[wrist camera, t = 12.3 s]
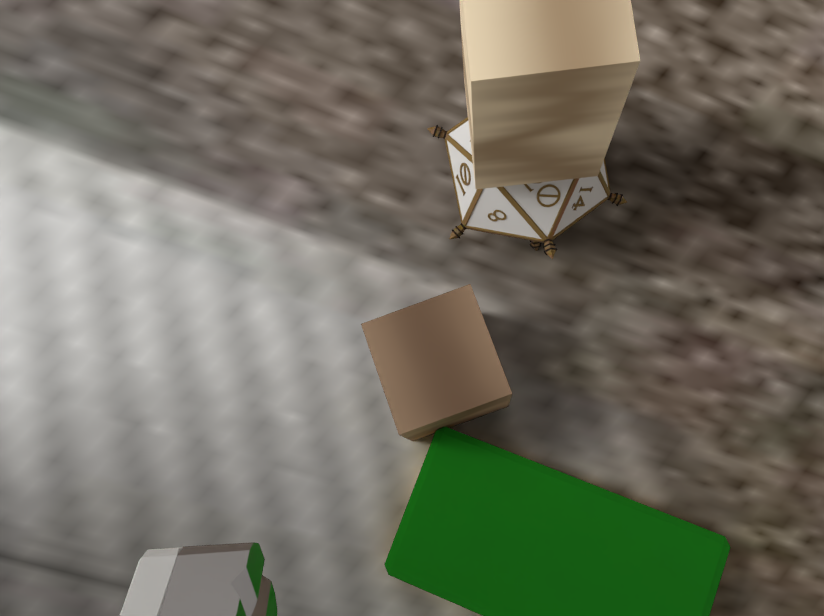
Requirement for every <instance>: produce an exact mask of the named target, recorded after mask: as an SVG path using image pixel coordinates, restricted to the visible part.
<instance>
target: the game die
mask: <svg viewBox="0 0 824 616" xmlns="http://www.w3.org/2000/svg"><path fill="white" fill-rule="evenodd" d="M427 129H428V130H429V131H430V132H431V134H432V135H433V137H434V136H436V137H438V138H444V139H445V143H446V148H447V153H448V158H449V163H450V168H451V173H452V178H453V183H454V188H455V193H456V198H457V203H458V208H459V213H460V218H461V224H460V225H459V226H456V228H455V229H452V233H451V236H450V239H454V238H460V236H461V235H462V234H463V232H464V230H465V229H471V230H476V231H482V232H487V233H493V234H498V235H504V236H509V237H515V238H520V239H526V240H530V242H531V244H530V246H531V247H532V248H534V249H535V250H536V251H537V250H538V248H539V247H540V246H541V242H542V243H544V246H543V248H544V249H545V251H544V252H545V254H546V255H548V256H550V257H551V258H552V259H553V257H554V254H555V252H556V250H557V248H555V244H554V243H553V242H552V240H554V239H555V238H556V237H558V236H559V235H560V234H562V233H563V232H564V231H566V230H567V229H568V228H570V227H571V226H572V225H574V224H575V223H576V222H578V221H579V220H580V219H582V218H583V217H584V216H586V215H587V214H588V213H590V212H591V211H592V210H594V209H595V208H596V207H598V206H599V205H600V204H602V203H603V202H605V201H606V200H610V201H611V202H612V204H613V203H615V204H616V205H617V206H618V205H619V204H623V203H627V201H626V200H625V199H624V197H623V195H622V194H620V195H619V194H618V193H615V194H613V193H611V192H610V186H609V180H608V174H607V169H606V163H605V158H604V161H603V163H602V166H601V169H600V172H599V174H598V176H594V177H585V178H576V179H567V180H558V181H549V182H539V183H530V184H521V185H512V186H503V187H493V188H484V189H475V179H474V170H473V160H472V150H471V140H470V131H469V121H468V117H467V118H466V119H464V120H463V121H461V122H460V123H459V124H457V125H456V126H454V127H453V128H452V129H450V130H449V131H445V130H443V129H442V127H441V128H440V127H438V125H437V126H435V127H431V128H427Z"/></svg>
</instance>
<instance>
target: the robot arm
mask: <svg viewBox="0 0 824 616" xmlns="http://www.w3.org/2000/svg"><path fill="white" fill-rule="evenodd" d="M264 560H265V559H264V557H263V554H262V551H261V548H260V545H259V543H239V544H222V545H205V546H188V547H178V548H163V549H148V550H147V551H146V552H145V553H144V555H143V556H142V557H141V559H140V560H139V562H138V565H137V568H136V570H135V573H134V576H133V579H132V582H131V585H130V587H129V590H128V593H127V596H126V599H125V602H124V604H123V607H122V610H121V613H120V616H277V605H276V598H275V592H274V589H273V585H272V582H271V581H270V580H269V579H267V578H266V577H265V576H263V575H262V572H263V566H264Z"/></svg>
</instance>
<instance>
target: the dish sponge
mask: <svg viewBox="0 0 824 616" xmlns="http://www.w3.org/2000/svg"><path fill="white" fill-rule="evenodd" d="M729 550H730V545H729V543H728V541H727V539H726V538H725V536H722V535H720V534H717V533H715V532H712V531H709V530H707V529H704V528H702V527H699V526H697V525H694V524H692V523H689V522H687V521H684V520H681V519H679V518H676V517H674V516H671V515H669V514H666V513H664V512H661V511H659V510H656V509H654V508H651V507H648V506H646V505H643V504H641V503H638V502H636V501H633V500H631V499H628V498H626V497H623V496H621V495H618V494H615V493H613V492H610V491H608V490H605V489H603V488H600V487H598V486H595V485H593V484H590V483H587V482H585V481H582V480H580V479H577V478H575V477H572V476H570V475H567V474H565V473H562V472H560V471H557V470H554V469H552V468H549V467H547V466H544V465H542V464H539V463H537V462H534V461H532V460H529V459H526V458H524V457H521V456H519V455H516V454H514V453H511V452H509V451H506V450H504V449H501V448H499V447H496V446H493V445H491V444H488V443H486V442H483V441H481V440H478V439H476V438H473V437H471V436H468V435H466V434H463V433H460V432H458V431H455V430H453V429H450V428H448V427H443V428H441V429H439V430H436V432H435V434H434V437H433V440H432V442H431V445H430V447H429V450H428V453H427V455H426V458H425V460H424V463H423V466H422V468H421V471H420V473H419V476H418V479H417V481H416V484H415V486H414V489H413V492H412V494H411V497H410V499H409V502H408V505H407V507H406V510H405V512H404V515H403V518H402V520H401V523H400V525H399V528H398V531H397V533H396V536H395V538H394V541H393V544H392V546H391V549H390V551H389V554H388V557H387V559H386V562H385V567H386V569H387V572H388V574H389V575H390V576H393V577H395V578H397V579H400V580H402V581H404V582H407V583H409V584H411V585H413V586H416V587H418V588H420V589H423V590H425V591H427V592H430V593H432V594H434V595H437V596H439V597H441V598H444V599H446V600H448V601H450V602H453V603H455V604H457V605H460V606H462V607H464V608H467V609H469V610H471V611H474V612H476V613H478V614H481V615H483V616H709V615H710V611H711V608H712V605H713V602H714V599H715V595H716V592H717V589H718V586H719V582H720V579H721V576H722V573H723V570H724V566H725V563H726V560H727V557H728V553H729Z"/></svg>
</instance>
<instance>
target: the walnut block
mask: <svg viewBox="0 0 824 616" xmlns="http://www.w3.org/2000/svg"><path fill="white" fill-rule="evenodd" d="M361 325H362V328H363V331H364V334H365V337H366V340H367V343H368V346H369V349H370V352H371V355H372V358H373V360H374V363H375V366H376V369H377V372H378V375H379V378H380V381H381V384H382V387H383V390H384V393H385V395H386V398H387V401H388V404H389V407H390V410H391V413H392V416H393V419H394V422H395V425H396V428H397V430H398V433H399V435H401V436H403V437H405V438H407V439H409V440H411V441H414V440H417V439H420V438H422V437H425V436H428V435H431V434H433V433H435V432H436V430H439V429H441V428H443V427H448V428H450V427H453V426H455V425H458V424H461V423H464V422H466V421H469V420H472V419H475V418H477V417H480V416H483V415H486V414H488V413H491V412H494V411H497V410H499V409H502V408H505V407H508V406H509V403H510V400H511V396H512V392H511V389H510V386H509V384H508V381H507V378H506V376H505V373H504V371H503V368H502V365H501V363H500V360H499V358H498V355H497V352H496V350H495V347H494V345H493V342H492V339H491V337H490V334H489V332H488V329H487V326H486V324H485V321H484V319H483V316H482V313H481V311H480V308H479V306H478V303H477V300H476V298H475V295H474V292H473V290H472V287H471V285H470V284H469V285H466V286H464V287H461V288H458V289H455V290H453V291H450V292H447V293H444V294H442V295H439V296H436V297H433V298H431V299H428V300H425V301H423V302H420V303H417V304H414V305H412V306H409V307H406V308H403V309H401V310H398V311H395V312H393V313H390V314H387V315H384V316H382V317H379V318H376V319H373V320H371V321H368V322H365V323H362V324H361Z"/></svg>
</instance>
